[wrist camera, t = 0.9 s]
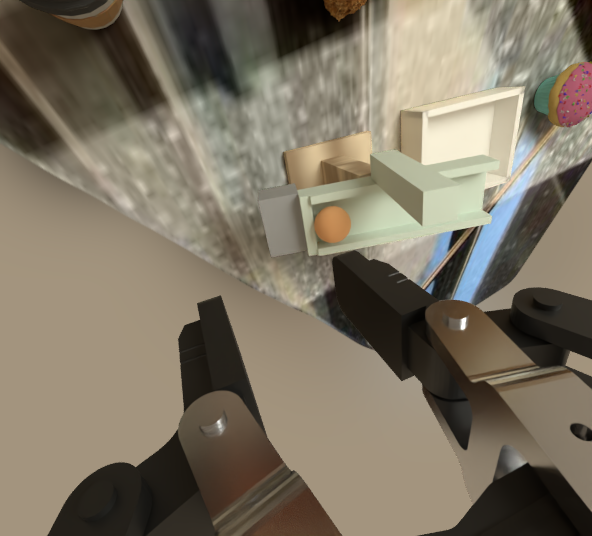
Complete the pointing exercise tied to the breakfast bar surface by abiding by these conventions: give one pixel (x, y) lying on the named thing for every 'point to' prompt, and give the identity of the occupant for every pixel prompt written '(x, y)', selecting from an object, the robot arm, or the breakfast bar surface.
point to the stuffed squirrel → (343, 7)
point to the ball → (332, 224)
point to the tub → (466, 129)
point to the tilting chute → (380, 204)
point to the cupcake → (566, 95)
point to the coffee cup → (81, 11)
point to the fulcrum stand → (330, 161)
